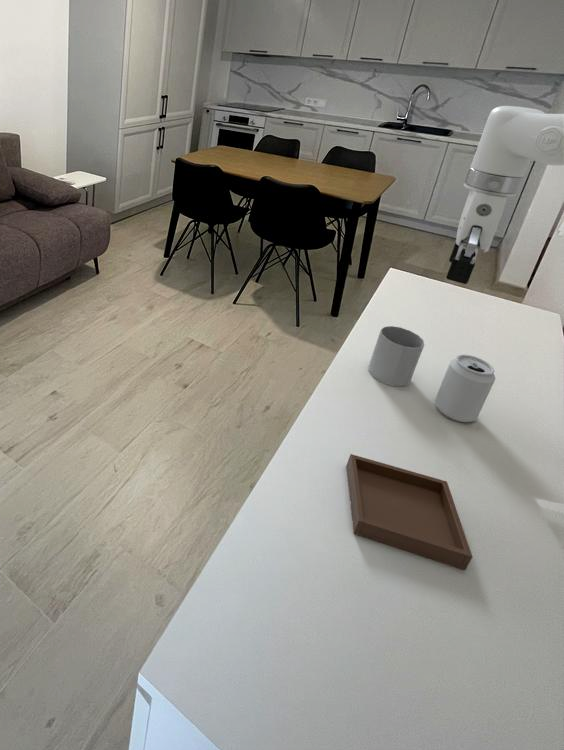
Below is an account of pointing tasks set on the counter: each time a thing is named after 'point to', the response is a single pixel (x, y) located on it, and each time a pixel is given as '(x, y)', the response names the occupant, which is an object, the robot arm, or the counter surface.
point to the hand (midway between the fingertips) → (457, 272)
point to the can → (465, 388)
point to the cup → (395, 356)
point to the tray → (406, 511)
